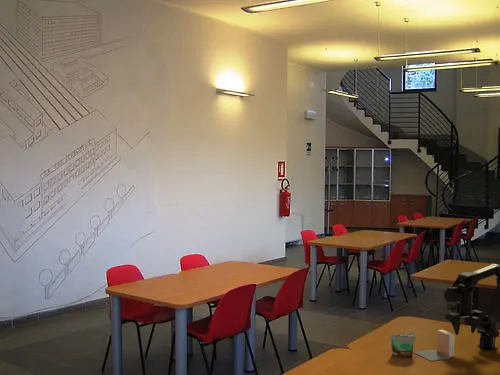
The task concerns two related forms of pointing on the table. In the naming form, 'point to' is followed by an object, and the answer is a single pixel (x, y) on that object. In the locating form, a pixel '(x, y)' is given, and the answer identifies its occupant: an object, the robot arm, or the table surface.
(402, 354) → the food container
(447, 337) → the glazed tile
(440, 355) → the rubber mat
